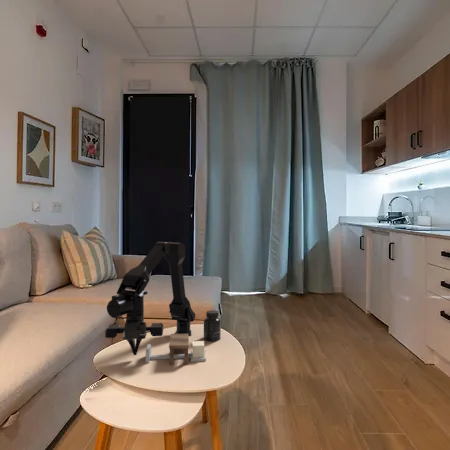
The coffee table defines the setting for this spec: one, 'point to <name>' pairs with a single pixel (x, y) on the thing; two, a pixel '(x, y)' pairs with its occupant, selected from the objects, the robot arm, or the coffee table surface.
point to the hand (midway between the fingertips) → (135, 354)
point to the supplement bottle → (212, 326)
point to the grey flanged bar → (176, 356)
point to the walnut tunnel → (179, 346)
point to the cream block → (198, 348)
